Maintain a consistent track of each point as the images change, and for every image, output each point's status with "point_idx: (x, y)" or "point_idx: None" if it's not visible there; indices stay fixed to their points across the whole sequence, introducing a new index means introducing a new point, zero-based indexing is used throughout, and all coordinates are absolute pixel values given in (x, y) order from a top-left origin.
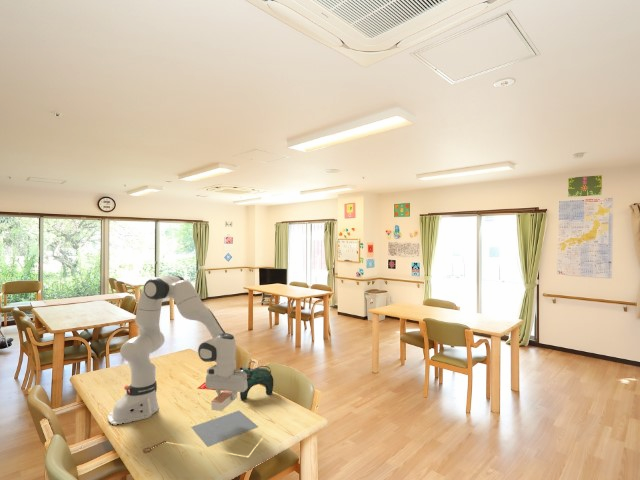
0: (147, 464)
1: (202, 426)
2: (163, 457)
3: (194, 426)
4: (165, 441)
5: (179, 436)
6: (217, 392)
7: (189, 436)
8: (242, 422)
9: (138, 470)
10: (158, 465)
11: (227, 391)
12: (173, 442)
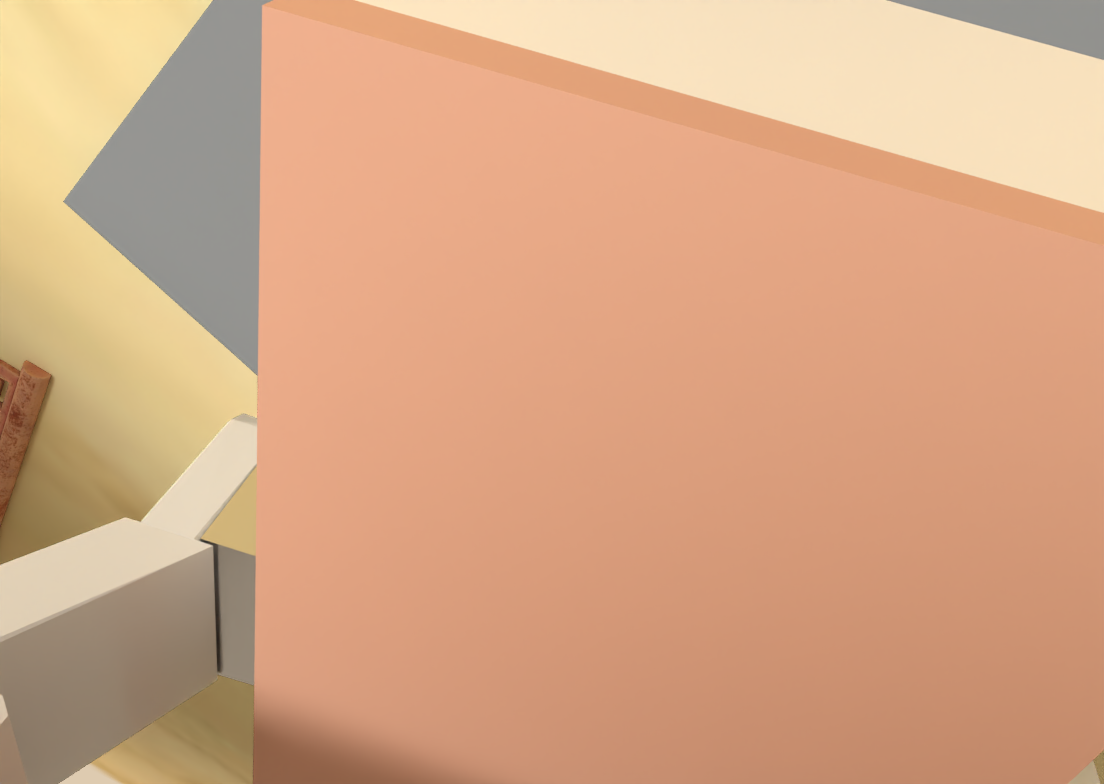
0: (144, 741)
1: (242, 190)
2: (204, 693)
3: (107, 186)
4: (9, 485)
5: (80, 391)
6: (35, 769)
7: (210, 403)
8: (1095, 42)
9: (136, 781)
10: (242, 766)
11: (531, 675)
12: (110, 500)
